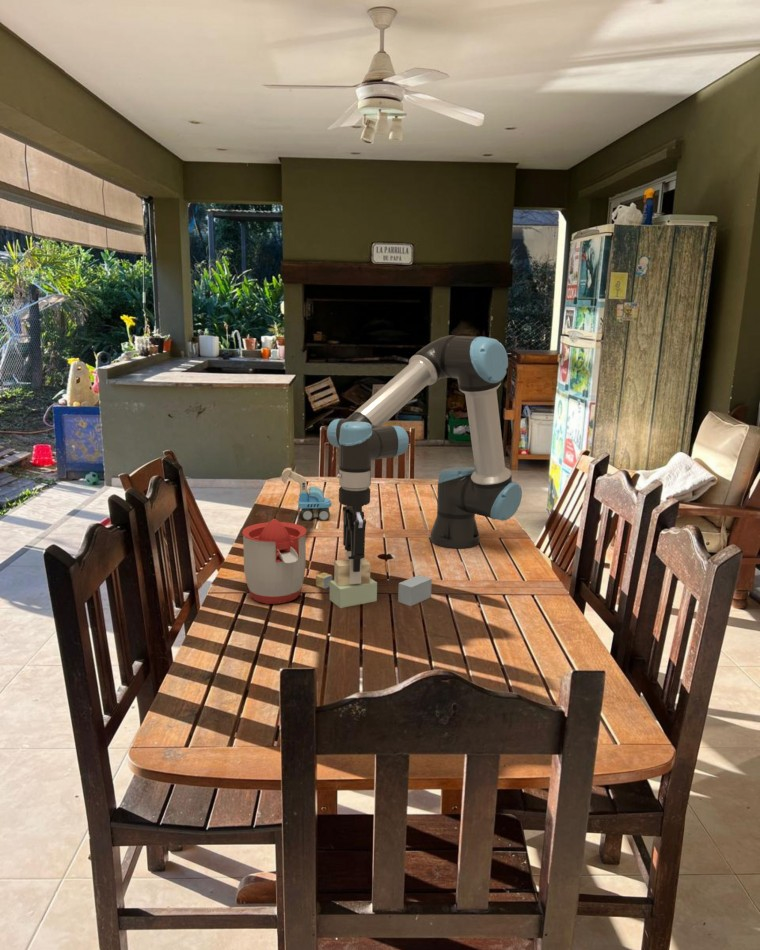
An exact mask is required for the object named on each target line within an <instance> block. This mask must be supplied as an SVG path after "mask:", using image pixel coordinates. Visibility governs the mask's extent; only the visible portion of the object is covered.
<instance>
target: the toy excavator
mask: <svg viewBox="0 0 760 950" xmlns="http://www.w3.org/2000/svg"><path fill="white" fill-rule="evenodd" d="M289 478H290V479H292V480H294V481H295V482H297V483H298V485H299V494H298V495H299V496H298V504H297V505H298V509H300V510H301V512H300V513H301V518H302V520H304V521H306V522H309V521H311V520H313V518H318V520H320V521H323V522H325V521H326V522H327V520H329V519H330V516H331V513H330V508H331V507H332V499H330V498H328V497H325V494H324V492H323V490H322V489H321V488H319V487H317V486H310V487H309V488H308V484H307V480H306V479H307V478H306V477H305V476H304V475H301V474H299V473H297V472H295V471H293V470H292V467H286V468H284V469H283V471H282V473H281V481H282V483H284V484H287V482H288V480H289Z"/></svg>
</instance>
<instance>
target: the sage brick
mask: <svg viewBox="0 0 760 950" xmlns="http://www.w3.org/2000/svg"><path fill="white" fill-rule="evenodd" d="M329 600H330V601H331V602H332V603H333V604H335V605H336V606H337V607H338V608H340V609H342V608H347V607H353V606H358V605H363V604H368V603H373V602H377V601H378V582H377V581H375V580H374V579H372V577H370V584H358V585H343V586H338V585H337V584H336V582H335V580H334V579H332V581H330V587H329Z"/></svg>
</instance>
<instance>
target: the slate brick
mask: <svg viewBox="0 0 760 950" xmlns="http://www.w3.org/2000/svg"><path fill="white" fill-rule="evenodd" d="M432 580H433V579H432V578H431V577H427V576H424V575H420V574H418V575H415V576H412V577H410V578H408V579H406V580H403V581H401V582H398V593H397V594H398V595H397V597H398V600H397V602H398V603H401V604H404V605H405V606H409V607H412V606H414V605H417V604H420V603H422V602H424V601H426V600H428V599H430V598H431V597H432V582H433V581H432Z"/></svg>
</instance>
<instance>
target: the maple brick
mask: <svg viewBox="0 0 760 950" xmlns="http://www.w3.org/2000/svg"><path fill="white" fill-rule="evenodd" d="M333 571H334V575H333V578H334V579H333V580H335V582H336V584H337V585H338V586H343V585H358V584H350V560H345V559H343V560H342V559H341V560H334V570H333ZM370 578H371V563H370V562H369V560H368V559H367V558H362V563H361V583H360V584H370Z"/></svg>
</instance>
